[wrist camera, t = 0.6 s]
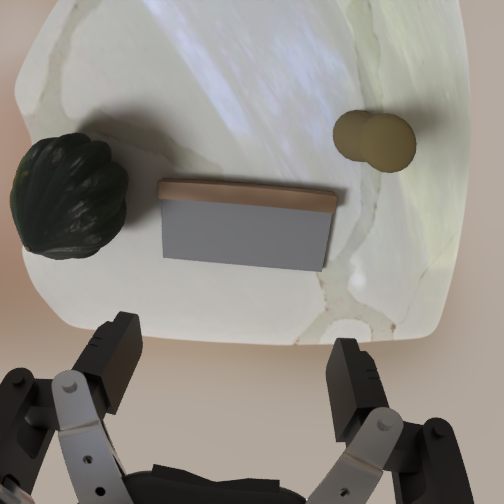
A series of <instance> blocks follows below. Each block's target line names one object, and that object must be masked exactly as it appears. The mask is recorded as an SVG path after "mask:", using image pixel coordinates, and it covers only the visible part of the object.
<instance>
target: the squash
mask: <svg viewBox="0 0 504 504" xmlns="http://www.w3.org/2000/svg"><path fill="white" fill-rule="evenodd" d="M128 181H129V177H128V173H127V171H126V170H125V169H124V168H123V167H122V166H121V165H119V164H118V163H115V162H112V161H111V149H110V147H109V146H108V144H107V143H105V142H103V141H93V142H91V140H90V138H89V137H88V136H86V135H85V134H82V133H72V134H66V135H62V136H60V137H54V138H47V139H43V140H40V141H38V142H37V143H36V144H34V145H33V146H32V147H31V148H30V149H29V151H28V152H27V153H26V155H25V156H24V157H23V158H22V160H21V162H20V164H19V166H18V169H17V171H16V175H15V178H14V181H13V188H12V190H11V193H10V208H11V211H12V216H13V219H14V223H15V225H16V228H17V231H18V233H19V236H20V239H21V241H22V243H23V245H24V247H25V249H26V250H27V251H28V252H29V251H30V252H32V253H34V254H39V255H43V256H45V257H48V258H51V259H55V260H64V259H70V258H77V259H80V258H87V257H90V256H92V255H94V254H95V253H97V252H98V251H99V250H100V248H101V247H104V246H105V245H107V244H108V243H109V242H110V241H111V240H112V239H113V238H114V237H115V236H116V235H117V234H118V233H119V232H120V230H121V228H122V226H123V225H124V221H125V218H126V202H125V199H124V196H125V193H126V190H127V185H128Z"/></svg>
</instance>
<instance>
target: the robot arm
mask: <svg viewBox="0 0 504 504" xmlns="http://www.w3.org/2000/svg"><path fill="white" fill-rule="evenodd" d="M142 348H143V342H142V335H141V328H140V321H139V316H138V315H137V314H133V313H128V312H122V311H120V312H119V313H118V314H117V316H116V317H115V319H114V321H113V322H110V321H107V322H105V323H104V324H102V325H101V326H100V327H98V329H97V330H96V332H95V333H94V335H93V337H92V338H91V340H90V341H89V342H88V345H86V347H85V349H84V350H83V352H82V353H81V355H80V357H79V358H78V360H77V362H76V363H75V365H74V366H73V368H72V369H71V370H66V371H63V372H61V373H59V374H58V375H56V376H55V378H54V379H35V378H34V376H33V374H32V373H31V372H30V370H28V369H26V368H16V369H13V370H11V371H10V372H9V373H8V374H7V375H6V376H5V378H4V379H3V381H2V382H1V384H0V504H35V502H34V500H33V499H32V497H31V493H32V490H33V487H34V484H35V481H36V478H37V476H38V473H39V470H40V467H41V465H42V462H43V459H44V457H45V454H46V452H47V449H48V447H49V444H50V442H51V440H52V437H53V435H54V432H55V430H57V431H58V438H59V442H60V446H61V449H62V453H63V456H64V460H65V463H66V466H67V470H68V473H69V476H70V479H71V482H72V485H73V487H74V490H75V493H76V496H77V498H78V501H79V503H78V504H366V502H367V500H368V499H369V497H370V495H371V494H372V492H373V491H374V489H375V487H376V486H377V484H378V482H379V480H380V479H381V477H382V475H383V471H382V470H386V471H391V472H392V478H393V485H394V492H395V499H396V504H474V501H473V496H472V492H471V488H470V484H469V480H468V477H467V473H466V470H465V466H464V463H463V459H462V456H461V453H460V449H459V446H458V443H457V440H456V437H455V434H454V431H453V429H452V427H451V425H450V424H449V423H448V422H447V421H446V420H444V419H441V418H431V419H429V420H427V421H426V422H425V424H424V425H420V424H414V423H409V422H405V421H403V420H402V418H401V416H400V415H399V414H398V413H397V412H396V411H394V410H393V409H390V408H389V405H388V402H387V398H386V395H385V392H384V389H383V386H382V383H381V381H380V379H379V378H380V377H379V374H378V372H377V368H376V365H375V362H374V360H373V359H372V357H371V356H370V355H369V354H368V353H367V352H366V351H360V349H359V346H358V343H357V340H356V339H355V338H337V339H336V341H335V343H334V347H333V349H332V352H331V355H330V358H329V360H328V363H327V367H326V381H327V386H328V392H329V399H330V405H331V411H332V418H333V424H334V430H335V438H336V442H345V443H346V449H345V451H344V452H343V454H342V455H341V456H340V458H339V459H338V461H337V462H336V463H335V465H334V466H333V467H332V469H331V470H330V471H329V473H328V474H327V475H326V477H325V478H324V479H323V480H322V482H321V483H320V484H319V486H318V487H317V488H316V489H315V490H314V492H313V493H312V494H311V495H310V496H309V498H308V499H307V500H306V499H305V498H304V497H302V496H301V495H299V494H298V493H295V492H293V491H291V490H288V489H286V488H282V487H280V486H279V484H280V483H279V481H280V480H270V479H252V478H247V479H239V480H230V481H221V482H214V481H211V480H208V479H205V478H202V477H200V476H197V475H195V474H192V473H190V472H187V471H185V470H180V469H175V468H170V467H166V466H161V465H156V464H154V465H153V468H152V471H140V472H135V473H131V474H128V475H127V474H126V472H125V470H124V468H123V466H122V464H121V462H120V460H119V458H118V456H117V453H116V451H115V448H114V446H113V444H112V441H111V439H110V436H109V434H108V431H107V428H106V426H105V423H104V421H103V419H104V417H105V414H106V413H109V414H113V415H115V414H116V412H117V410H118V407H119V405H120V403H121V400H122V398H123V395H124V393H125V391H126V388H127V386H128V384H129V381H130V379H131V377H132V375H133V372H134V370H135V368H136V365H137V363H138V361H139V359H140V356H141V353H142Z"/></svg>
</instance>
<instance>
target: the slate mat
mask: <svg viewBox="0 0 504 504" xmlns="http://www.w3.org/2000/svg"><path fill="white" fill-rule="evenodd" d="M161 211H162V243H163V258H173V259H183V260H193V261H204V262H214V263H225V264H236V265H247V266H258V267H270V268H281V269H293V270H305V271H317V272H322V267H323V262H324V257H325V252H326V246H327V241H328V235H329V229H330V224H331V218H332V213H325V212H316V211H306V210H297V209H287V208H276V207H266V206H254V205H243V204H230V203H217V202H203V201H187V200H171V199H161Z"/></svg>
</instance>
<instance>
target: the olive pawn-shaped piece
mask: <svg viewBox="0 0 504 504" xmlns="http://www.w3.org/2000/svg"><path fill="white" fill-rule="evenodd" d="M333 139H334V143H335V146H336V148H337V149H338V151H339V152H340V153H341V154H342V155H343V156H344V157H345V158H347V159H350V160H352V161H359V162H367V163H369V164H370V165H371V166H372V167H373V168H375V169H377V170H379V171H381V172H387V173H393V172H398V171H401V170H403V169H404V168H406V167H407V166H408V165H409V164H410V163H411V162H412V160H413V158H414V156H415V153H416V145H417V143H416V138H415V134H414V132H413V130H412V128H411V127H410V125H409V124H408V123H407V122H406V121H405V120H403V119H402V118H400V117H398V116H396V115H392V114H379V115H375V116H374V115H372V114H369V113H367V112H364V111H358V110H354V111H349V112H347V113H345V114H343V115H342V116H341V117H340V118H339V119H338V120H337V121H336V124H335V126H334V129H333Z"/></svg>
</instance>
